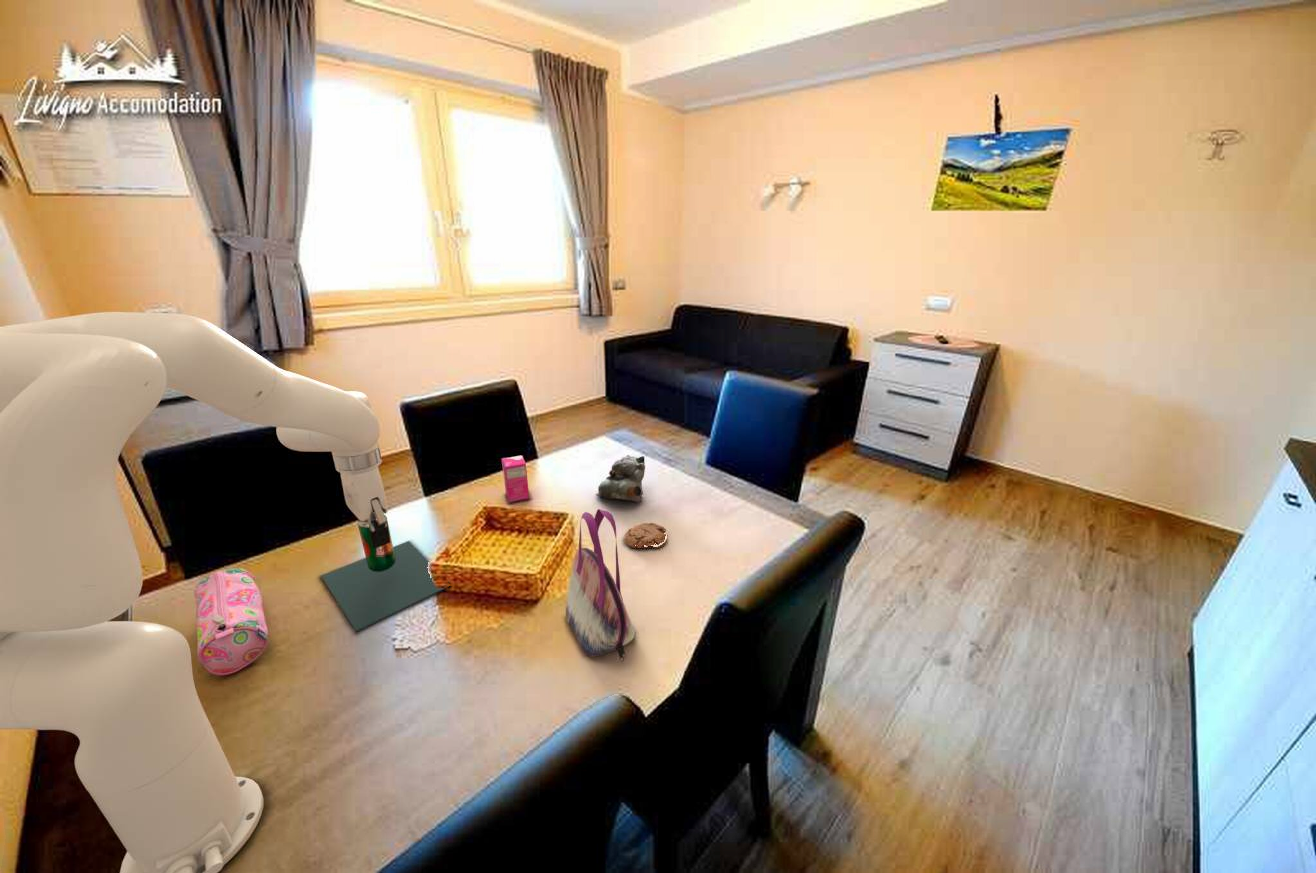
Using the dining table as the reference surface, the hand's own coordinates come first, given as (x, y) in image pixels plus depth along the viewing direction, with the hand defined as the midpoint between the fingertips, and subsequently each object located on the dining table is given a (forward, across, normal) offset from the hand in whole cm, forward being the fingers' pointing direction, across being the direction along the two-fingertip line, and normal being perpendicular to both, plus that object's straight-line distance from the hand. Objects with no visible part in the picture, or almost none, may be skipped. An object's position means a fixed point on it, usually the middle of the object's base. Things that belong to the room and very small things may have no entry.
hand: (376, 538), depth 97 cm
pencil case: (+11, -3, -24) cm, 27 cm away
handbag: (+11, +42, +23) cm, 49 cm away
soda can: (+7, 0, 0) cm, 7 cm away
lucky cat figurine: (+11, +8, +60) cm, 62 cm away
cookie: (+11, +28, +50) cm, 58 cm away
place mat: (+11, 0, 0) cm, 11 cm away
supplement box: (+11, -12, +39) cm, 42 cm away
